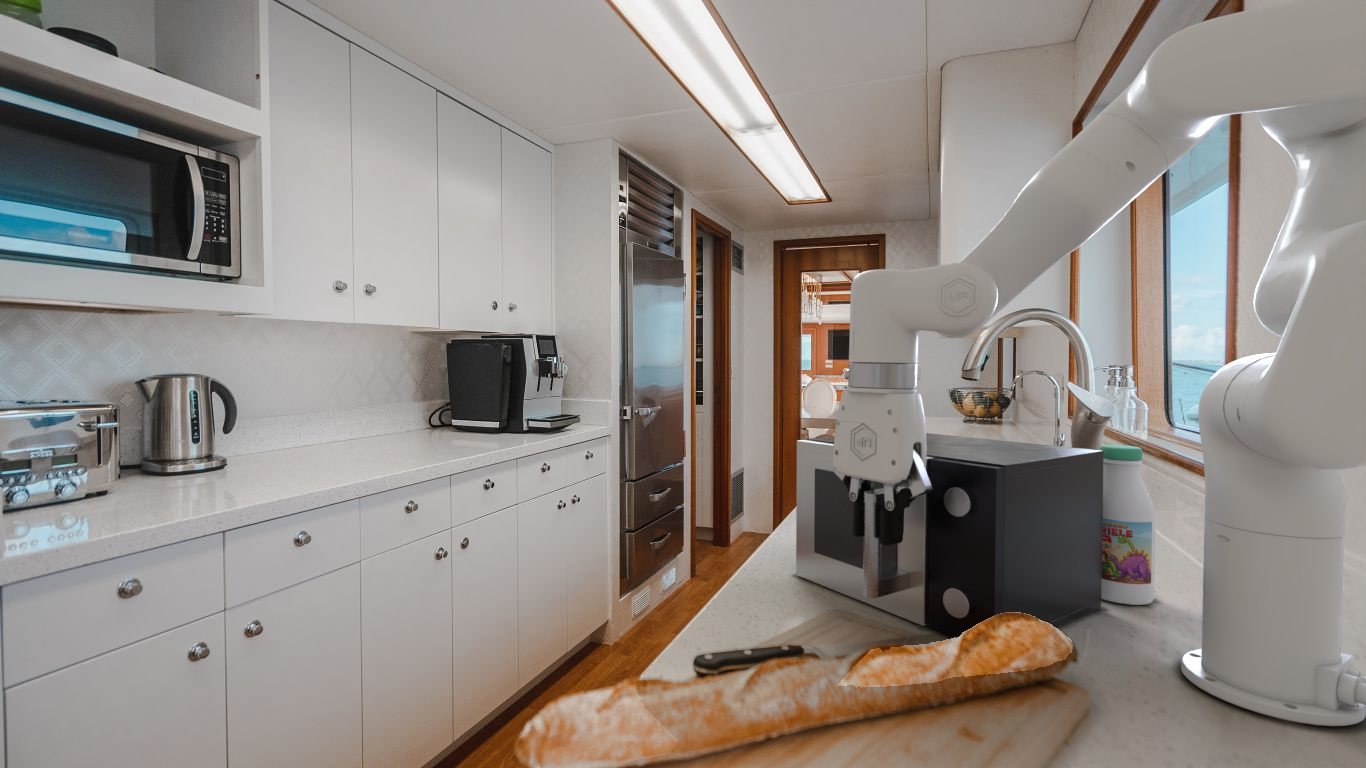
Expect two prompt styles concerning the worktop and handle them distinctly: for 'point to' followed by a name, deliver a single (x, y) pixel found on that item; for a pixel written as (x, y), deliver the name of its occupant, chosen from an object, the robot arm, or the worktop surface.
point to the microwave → (1012, 531)
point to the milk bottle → (1127, 529)
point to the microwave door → (859, 539)
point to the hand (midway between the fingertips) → (877, 537)
